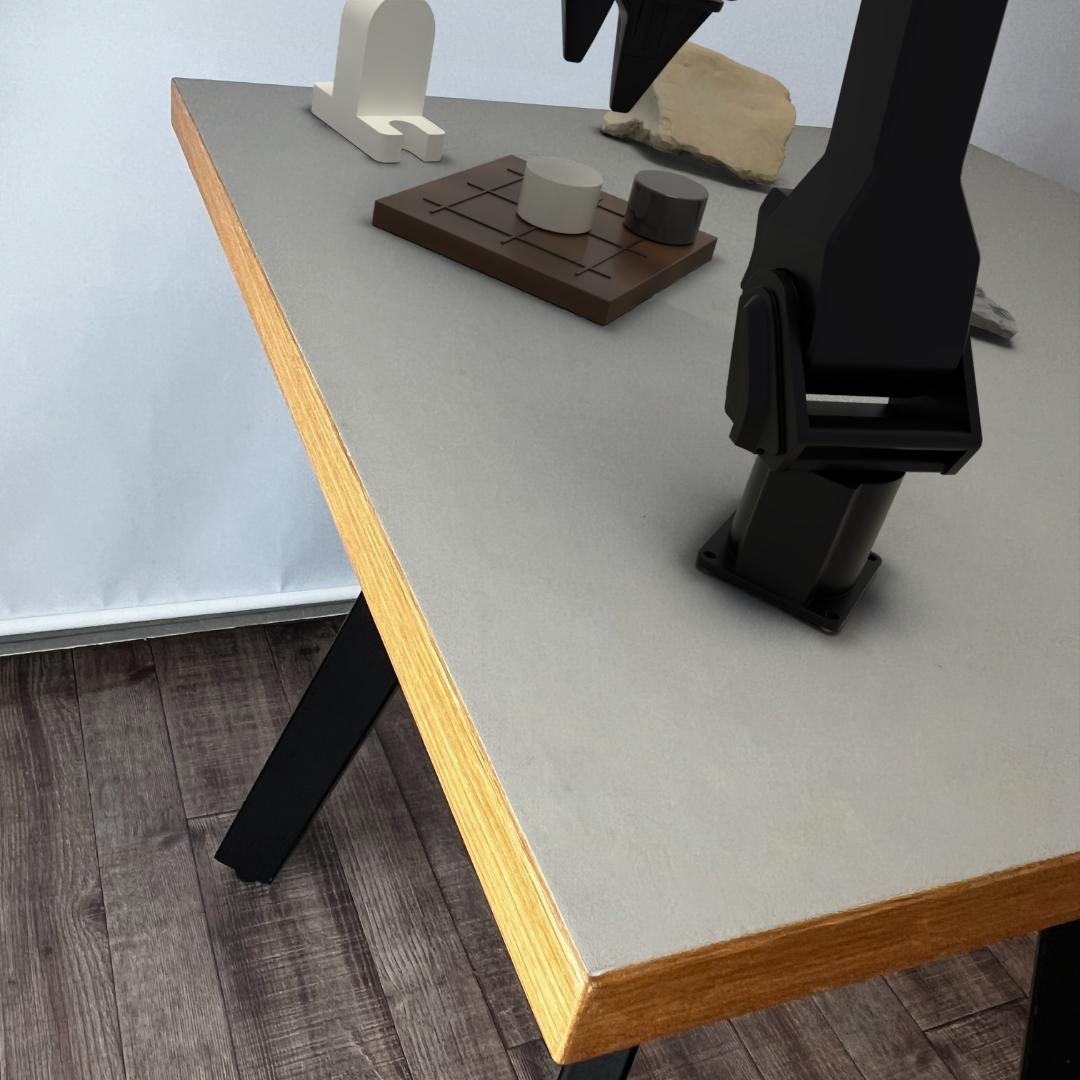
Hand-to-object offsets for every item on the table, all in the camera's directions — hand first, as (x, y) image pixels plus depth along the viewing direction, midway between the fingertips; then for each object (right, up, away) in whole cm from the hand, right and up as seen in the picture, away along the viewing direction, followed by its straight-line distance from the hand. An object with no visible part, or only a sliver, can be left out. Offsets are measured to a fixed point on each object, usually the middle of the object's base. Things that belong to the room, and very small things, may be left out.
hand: (594, 85), depth 71 cm
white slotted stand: (-15, +2, +16) cm, 22 cm away
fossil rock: (+22, -7, +16) cm, 28 cm away
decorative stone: (+9, +4, +27) cm, 29 cm away
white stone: (-2, -6, +5) cm, 8 cm away
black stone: (+5, -6, +8) cm, 11 cm away
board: (-2, -8, +6) cm, 10 cm away
